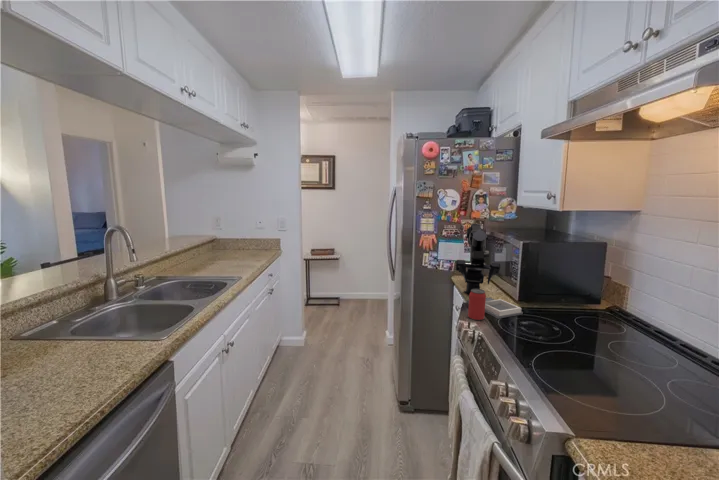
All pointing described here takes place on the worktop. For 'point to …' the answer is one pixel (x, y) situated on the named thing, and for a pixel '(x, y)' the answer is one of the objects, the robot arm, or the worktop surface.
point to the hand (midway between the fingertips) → (477, 282)
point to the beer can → (477, 304)
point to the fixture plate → (501, 308)
